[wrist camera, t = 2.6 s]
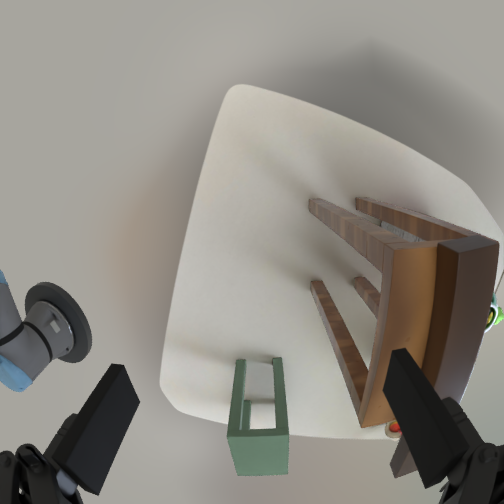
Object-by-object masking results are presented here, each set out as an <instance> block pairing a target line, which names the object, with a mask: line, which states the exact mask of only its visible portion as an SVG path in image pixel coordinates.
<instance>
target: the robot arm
mask: <svg viewBox="0 0 504 504" xmlns="http://www.w3.org/2000/svg"><path fill="white" fill-rule="evenodd" d="M75 342H76V337H75V332H74V329H73V326H72V324H71V322H70V320H69V319H68V317H67V316H66V314H65V313H64V312H63V311H62V310H61V309H60V308H59V307H58V306H57V305H56V304H54V303H53V302H51V301H48V300H40V301H38V302H36V303H35V304H34V305H33V306H32V308H31V309H30V311H29V313H28V314H27V316H26V318H25V320H24V321H23V322H22V320H21V317H20V315H19V313H18V310H17V308H16V305H15V303H14V300H13V297H12V295H11V292H10V289H9V287H8V283H7V282H6V279H5V277H4V274H3V272H2V271H1V270H0V381H1V382H2V383H3V384H4V385H6V386H7V387H8V388H10V389H11V390H13V391H16V392H22V391H24V390H25V389H26V388H27V387H28V386H29V385H31V384H32V383H33V381H34V380H35V379H36V377H37V376H38V375H39V374H40V373H41V372H42V371H43V370H44V368H45V367H46V366H47V365H48V364H49V363H50V362H51V361H52V360H54V359H56V358H58V357H61V356H63V355H66V354H68V353H69V352H70V351H71V350H72V349H73V348H74V346H75ZM382 391H383V393H384V395H385V397H386V399H387V401H388V403H389V406H390V408H391V410H392V412H393V414H394V416H395V418H396V421H397V423H398V425H399V427H400V430H401V432H402V434H403V436H404V439H405V441H406V443H407V445H408V448H409V450H410V452H411V455H412V457H413V460H414V462H415V464H416V467H417V469H418V472H419V474H420V477H421V479H422V482H423V484H424V487H425V489H426V488H429V487H431V486H433V485H435V484H438V483H440V482H441V481H442V480H443V479H444V478H445V477H446V476H447V477H448V480H449V481H448V482H447V483H446V484H445V485H444V486H443V487H442V488H441V490H440V492H442V491H443V490H444V492H443V494H442V497H441V499H440V502H439V504H504V445H501V446H495V445H494V444H492V443H485V442H484V441H483V440H482V439H481V437H480V436H479V434H478V432H477V431H476V429H475V428H474V426H473V425H472V423H471V422H470V420H469V419H468V418H467V415H466V414H465V412H463V409H462V408H461V406H460V405H459V403H458V402H456V401H455V400H454V399H452V398H451V397H447V398H444V399H442V400H441V399H440V397H439V396H438V394H437V392H436V391H435V389H434V388H433V386H432V385H431V383H430V382H429V381H428V379H427V378H426V376H425V375H424V373H423V372H422V370H421V369H420V367H419V366H418V365H417V363H416V362H415V360H414V359H413V357H412V356H411V355H410V353H409V352H408V350H407V349H406V348H401V349H396V350H392V352H391V357H390V362H389V366H388V370H387V374H386V378H385V382H384V386H383V390H382ZM139 403H140V401H139V399H138V396H137V394H136V392H135V390H134V388H133V385H132V383H131V381H130V379H129V376H128V374H127V371H126V369H125V367H124V365H121V364H111V365H110V367H109V368H108V370H107V371H106V373H105V374H104V376H103V377H102V378H101V380H100V381H99V383H98V384H97V386H96V388H95V389H94V391H93V392H92V393H91V395H90V396H89V398H88V400H87V401H86V402H85V404H84V406H83V407H82V409H81V410H80V412H79V413H78V414H74V413H73V414H72V415H71V416H69V417H68V418H67V419H66V420H65V421H64V423H63V424H62V426H61V428H60V429H59V430H58V432H57V434H56V435H55V437H54V438H53V440H52V441H51V443H50V444H49V446H48V448H47V449H46V451H45V452H44V454H43V455H42V454H41V453H40V451H39V450H38V449H37V448H36V447H35V446H34V445H32V444H24V445H21V446H20V447H19V448H18V449H17V451H16V454H15V455H14V454H13V453H12V452H10V451H3V452H1V453H0V504H83V501H82V499H81V496H80V493H79V491H78V490H77V486H78V485H79V486H80V487H81V488H83V489H84V490H85V491H87V492H90V493H92V494H95V495H99V493H100V491H101V488H102V486H103V484H104V481H105V479H106V477H107V474H108V472H109V470H110V467H111V465H112V463H113V461H114V458H115V456H116V454H117V451H118V449H119V447H120V445H121V442H122V440H123V438H124V436H125V434H126V431H127V429H128V427H129V425H130V423H131V421H132V418H133V416H134V414H135V412H136V410H137V408H138V406H139ZM19 488H20V489H22V492H21V494H20V493H19Z"/></svg>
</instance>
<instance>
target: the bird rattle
mask: <svg viewBox="0 0 504 504" xmlns="http://www.w3.org/2000/svg"><path fill="white" fill-rule="evenodd" d="M385 434H386V435H387V436H388V437H390V438H400V437H401V435H402V432H401V430H400V427H399V425H398V423H397V421H396V420H394V421H391V422H388V423H387V424H386V426H385Z"/></svg>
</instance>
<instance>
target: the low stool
mask: <svg viewBox="0 0 504 504" xmlns="http://www.w3.org/2000/svg"><path fill="white" fill-rule="evenodd" d="M273 371H274V391H275V416H276V428H275V429H250V416H251V401H250V400H246V401H244V389H245V376H246V360H236V367H235V375H234V383H233V391H232V399H231V407H230V415H229V423H228V431H227V439H228V443H229V447H230V451H231V454H232V457H233V461H234V465H235V468H236V472H237V475H238V476H263V475H283V474H288V457H289V428H288V416H287V405H286V394H285V384H284V373H283V363H282V358H273Z"/></svg>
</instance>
